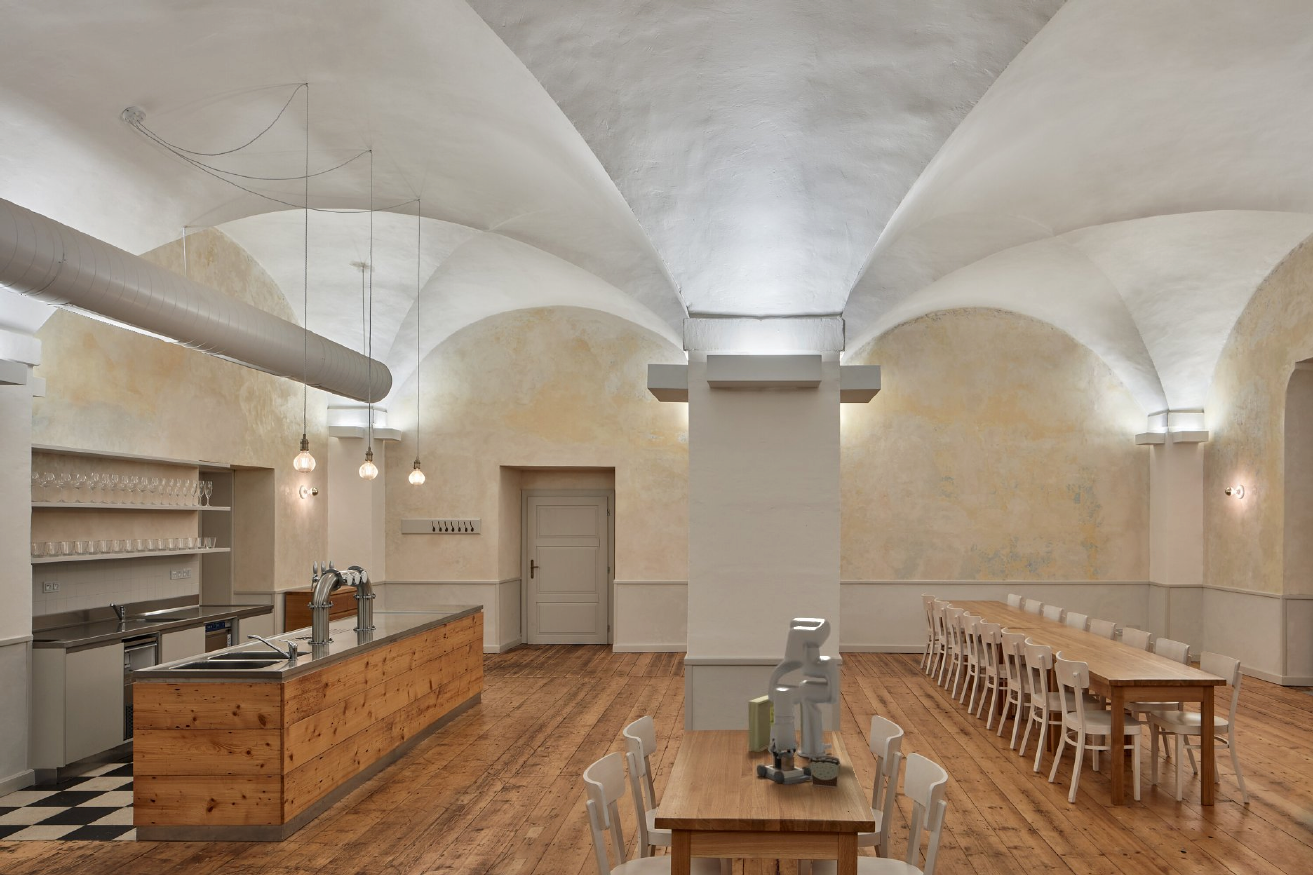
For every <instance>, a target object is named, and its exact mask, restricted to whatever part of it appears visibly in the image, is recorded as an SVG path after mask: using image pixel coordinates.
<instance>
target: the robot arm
mask: <svg viewBox="0 0 1313 875" xmlns="http://www.w3.org/2000/svg"><path fill="white" fill-rule="evenodd" d="M830 635H831V624H830V622H829V621H828V620H827V619H825V618H808V617H796V618H792V619H791V620H790V622H789V631H788V634H787V641H786V646H785V652H784V658H783V660H782V661H781V662H779V664H777V665H776V666H775V668H774V669H773V670H772V672H771V674H770V676H769V681H768V687H767V695H768V698H769V700H770V701H771V702H774V723H773V724H772V727H771V734H770V747H769V748H767V751H768V752H769V753H770V754H771V755H772V758H773V757H775V768H778V769H781V758H780V755H781V751H786V752H788V753H791V754H793V757H795V754H797V755H798V756H800V757H803V758H809V759H810V757H813V756H828V753H827V751H826V750H827V749H831V748H832V744H831V743H824V734H823V733H824V731H823V730H824V729H823V728H824V727H823V726H824V725H823V724H824V723H823V719H824V716H823V712H822V709H821V707H820V706H819V705H818V704H825V705H836V704H837V703H838V700H839V696H840V694H839V693H840V692H839V691H840V689H839V668H838V663H837V660H836V658H834V657H833V656H828V655H821V653H820V648H822V647H823V645H824V644H825V643H826V641H827V640H828V638H829V637H830ZM799 669H800V672H801V675H802V676H804V677H806V678H813V679H814V680H813V679H805V680H802V681H800V682H799V684H798V685H797V684H796V685H795V684H782V683H779V681H780V680H781V678H782V677H783V676H785V675H786V674H788V673H791V672H793V671H794V672H795V671H796V670H799ZM815 679H824V680H815ZM798 704H799V708H800V709H799V711H800V714H799V715H800V718H799V719H800V744H799V743H798V742H797V732H796V726H795V723H793V720H794V719H795V716H794V705H798ZM799 745H800V746H799ZM799 747H800V749H799ZM777 752H778V754H777ZM796 752H797V753H796Z"/></svg>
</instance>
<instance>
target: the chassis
mask: <svg viewBox="0 0 1313 875" xmlns="http://www.w3.org/2000/svg"><path fill="white" fill-rule="evenodd" d="M756 774H757V775H758V777H764V778H767V779H770V780H771V781H772V780H773V781H775V782H776V784H783V783H784V785H786V786H787V785H792V783H794V784H797V783H798V782H799V783H803V782H802V781H805V782H807V781H806V780H811V781H812V777H811V768H810V766H808V765H806V766H803V767H802V768H799V767H797V766H794V770H791V771H785V772H784V771H781V770H778V769H776V768H773V764H770V765H765V764H758V765H757V767H756Z"/></svg>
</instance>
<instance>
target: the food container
mask: <svg viewBox="0 0 1313 875" xmlns="http://www.w3.org/2000/svg"><path fill="white" fill-rule="evenodd" d="M807 764H809V767H810V769H811V783H812V786H817V785H820V787H828V788H829V787H831V788H838V781H839V770H840V767H841V761H840V759H839V758H838V757H835V756H832V755H831V756H830V755H826V756H813V757H810V758H809V759H808V762H807Z"/></svg>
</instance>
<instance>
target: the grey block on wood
mask: <svg viewBox="0 0 1313 875" xmlns="http://www.w3.org/2000/svg"><path fill="white" fill-rule="evenodd" d="M777 754H778V751H777ZM780 758H781V769H778V768H776V769H778V770H781V771H784V772H785V771H791V770H794V767H795V756H793V754H791V753H788V752H787V751H786V750H782V751H781V755H780ZM772 760H773V761H772V765H773V768H775V757H773V756H772Z"/></svg>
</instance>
